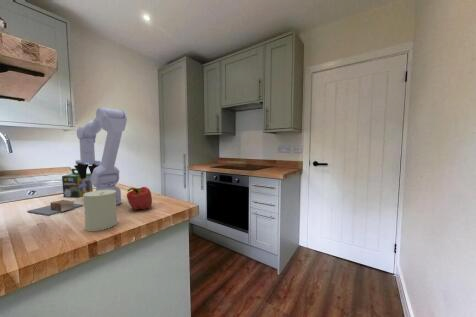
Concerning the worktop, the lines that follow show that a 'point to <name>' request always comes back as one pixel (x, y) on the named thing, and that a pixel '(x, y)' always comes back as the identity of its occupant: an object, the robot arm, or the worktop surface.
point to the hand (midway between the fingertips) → (88, 179)
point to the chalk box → (76, 184)
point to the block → (62, 205)
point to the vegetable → (139, 198)
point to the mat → (48, 211)
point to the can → (100, 210)
